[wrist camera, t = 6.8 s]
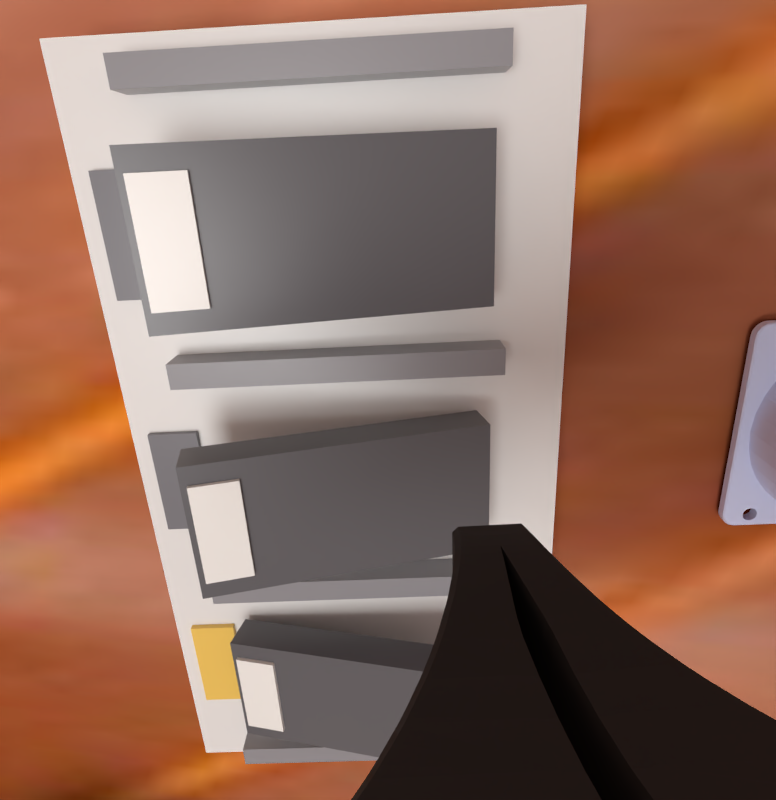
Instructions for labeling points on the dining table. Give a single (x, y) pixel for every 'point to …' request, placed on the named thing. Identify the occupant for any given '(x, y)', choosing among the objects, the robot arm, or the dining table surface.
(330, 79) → the switch board
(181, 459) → the middle rocker
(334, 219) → the rocker
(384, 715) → the block
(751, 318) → the dining table surface
